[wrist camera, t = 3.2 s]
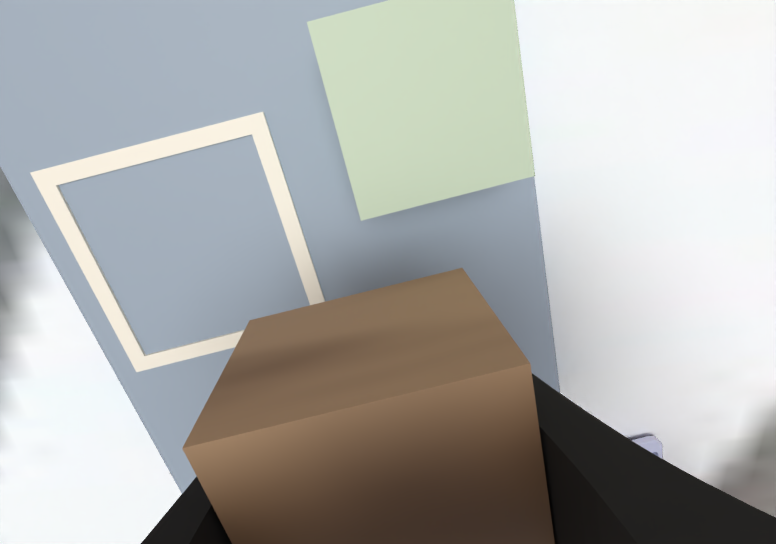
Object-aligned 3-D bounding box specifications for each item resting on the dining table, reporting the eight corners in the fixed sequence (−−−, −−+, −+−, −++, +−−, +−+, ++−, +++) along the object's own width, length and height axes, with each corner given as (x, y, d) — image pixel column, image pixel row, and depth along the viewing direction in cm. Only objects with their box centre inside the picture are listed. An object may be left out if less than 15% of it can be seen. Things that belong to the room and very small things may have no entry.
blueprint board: (551, 390, 20) (562, 405, 19) (192, 481, 21) (183, 500, 20) (486, -118, 14) (497, -138, 12) (-52, 26, 14) (-86, 18, 13)
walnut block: (493, 437, 11) (561, 595, 8) (313, 481, 11) (292, 658, 8) (462, 268, 10) (530, 363, 6) (249, 320, 10) (181, 448, 6)
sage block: (491, 162, 16) (534, 176, 12) (359, 196, 16) (360, 220, 12) (467, 9, 14) (510, -33, 10) (319, 48, 14) (306, 21, 10)
